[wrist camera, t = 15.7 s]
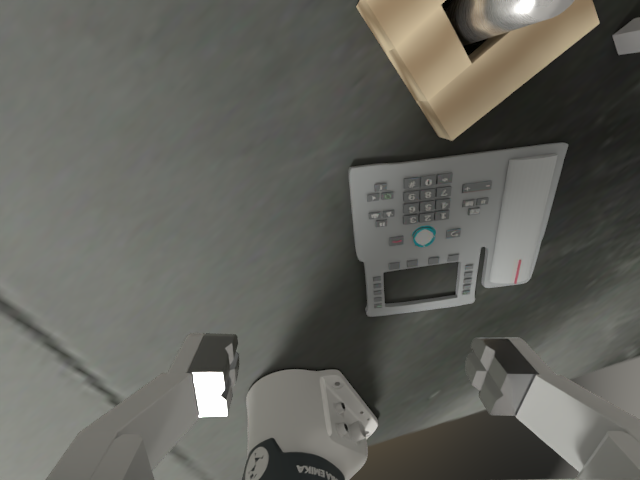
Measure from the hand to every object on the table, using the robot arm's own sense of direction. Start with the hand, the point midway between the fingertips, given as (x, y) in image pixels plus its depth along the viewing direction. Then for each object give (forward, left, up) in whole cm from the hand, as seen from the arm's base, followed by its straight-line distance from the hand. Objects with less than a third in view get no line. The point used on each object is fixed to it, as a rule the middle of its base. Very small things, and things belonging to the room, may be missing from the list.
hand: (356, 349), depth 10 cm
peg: (+2, -19, -24) cm, 31 cm away
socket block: (+2, -19, -24) cm, 31 cm away
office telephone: (-16, -7, -25) cm, 30 cm away
